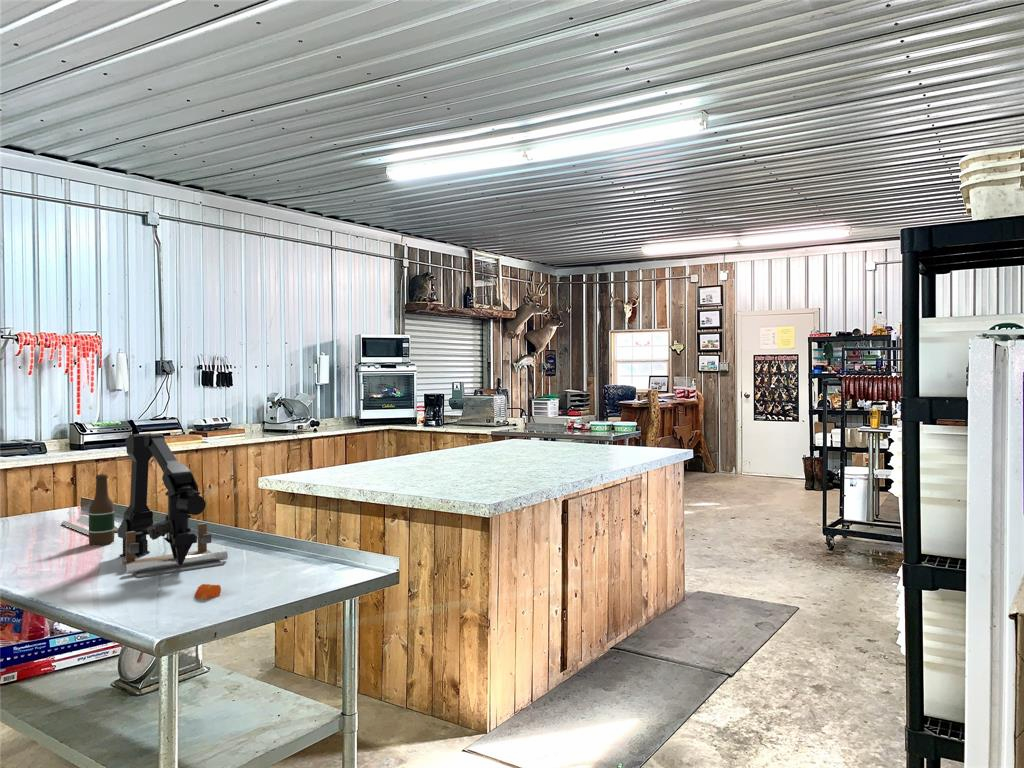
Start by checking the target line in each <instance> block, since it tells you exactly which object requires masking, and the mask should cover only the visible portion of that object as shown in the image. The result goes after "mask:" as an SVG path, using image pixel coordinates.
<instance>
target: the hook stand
mask: <svg viewBox="0 0 1024 768" xmlns="http://www.w3.org/2000/svg"><path fill="white" fill-rule="evenodd" d="M207 524H208V523H206V522H202V523H197V550H195V551H194V550H193V551H188V553H187V556H190V555H198V554H205V553H212V551H210V550H209V549H208V548H207V546H208V545H207V544H212V534H211V533H208V527H207V526H208V525H207ZM135 553H139V543H135V531H130V532H126V557H125V560H122V563H121V565H122V566H123V565H124V566H125V567H124V566H123V567H124V568H125V569H126V564H133V563H140V562H147V561H155V560H162V559H169V558H174V557H173V554H172V553H171V554H165V555H157V556H149V557H142V558H136V557H135Z"/></svg>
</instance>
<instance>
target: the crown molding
mask: <svg viewBox="0 0 1024 768" xmlns="http://www.w3.org/2000/svg"><path fill="white" fill-rule="evenodd" d="M75 522H78V523H80V524H83V525H85V526H87V527H89V515H86V514H82V515H80V517H78V519H77V520H76V521H75ZM72 523H73V522H70V521H66V520H62V522H61V523H60V524H63V525H65V526H68V527H71V528H73V529H75V530H77V531H80V532H82V533H84V534H87V535H89V530H87V529H85V528H82V527H80V526H77V525H74V524H72ZM65 526H64V527H65ZM118 528H119V527H117V526H116V525H114V533H116V532H117V530H118ZM75 530H74V531H75ZM77 531H76V532H77ZM82 533H81V534H82ZM84 534H83V535H84ZM87 535H86V536H87Z"/></svg>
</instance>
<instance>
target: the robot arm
mask: <svg viewBox="0 0 1024 768" xmlns="http://www.w3.org/2000/svg"><path fill="white" fill-rule="evenodd" d="M124 444H125V448H126V455H128V457H129V459H130V460H131V470H130V471H131V474H130V475H131V477H130V496H129V499H130V500H129V506H128V507H127V508H126V510H125V511H124V513H123V519H122V521H121V523H120V525H119V526H118V527H117V528H118V530H117V531H116V532H117V533H116V534H117V537H118V538H120V539H122V553H121V554H119V557H120V558H121V557H125V558H126V532H130V531H135V543H139V553H135V558H138V557H141V556H144V555H147V554H149V553H150V550H148V549H149V547H148V546H149V545H148V539H147V536H149V538H150V539H151V540H152V541H155V540H157V539H159V538H160V537H164V538H163V539H164V541H166V542H167V543H168V544H169V546H170V549H171V554H173V557H174V558H176V557H177V560H178V564H179V565H181V564H183V562H184V560H185V558H186V556H187V553H188V552H190V550H191V547H192V545H193V544H198V535H196V533H194V532H193V531H192V530H191V527H190V519H191V518H192V517H191V516H198V515H200V514H202V513H203V511H204V510H205V509H206V506H207V505H206V503H207V502H206V501H205V498H204V497H202V496H201V495H200V491H199V490H200V489H199V485H198V483H197V482H196V479H195V476H194V474H193V472H192V471H191V470H190V468H189V467H187V465H186V464H183V463H180V462H179V461H178V459H177V458H176V456H175V455H174V452H173V451H172V450H171V448H170V446H168V444H167V442H166V440H165V436H164V435H163V433H151V432H149V433H148V432H147V433H133V434H129V436H127V437H126V439H125V441H124ZM152 457H154V459H155V461H156V463H157V464H158V466H159V467H160V469H161V470H162V473H163V474H162V477H161V480H162V481H163V485H164V487H165V488H166V490H167V491H165V493H164V494H165V496H167V514H166V515H165V516H164V517H165V518H164V520H161V521H159V522H157V523H154V520H153V517H154V512H153V511H152V510H151V509H150V508H149V506H148V489H149V488H148V487H149V485H148V484H149V467H150V465H149V463H150V462H149V461H150V460H151V459H152ZM165 536H166V537H165Z"/></svg>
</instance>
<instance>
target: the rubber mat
mask: <svg viewBox="0 0 1024 768" xmlns="http://www.w3.org/2000/svg"><path fill="white" fill-rule="evenodd" d="M218 566H225V563H224V561H222V560H220V561H213V562H207V563H200V564H193V565H186V566H179V567H173V568H166V569H159V570H152V571H146V572H139V573H132V574H133V575H134V576H135V577H136V578H137V579H140V577H141V578H146V577H147V576H148V577H153V575H154V576H160V575H159V574H161V575H166V574H167V573H168V574H174V573H180V572H186V571H187V572H188V571H193V570H200V569H205V568H207V569H208V568H213V567H218ZM168 574H167V575H168ZM148 577H147V578H148Z"/></svg>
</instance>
